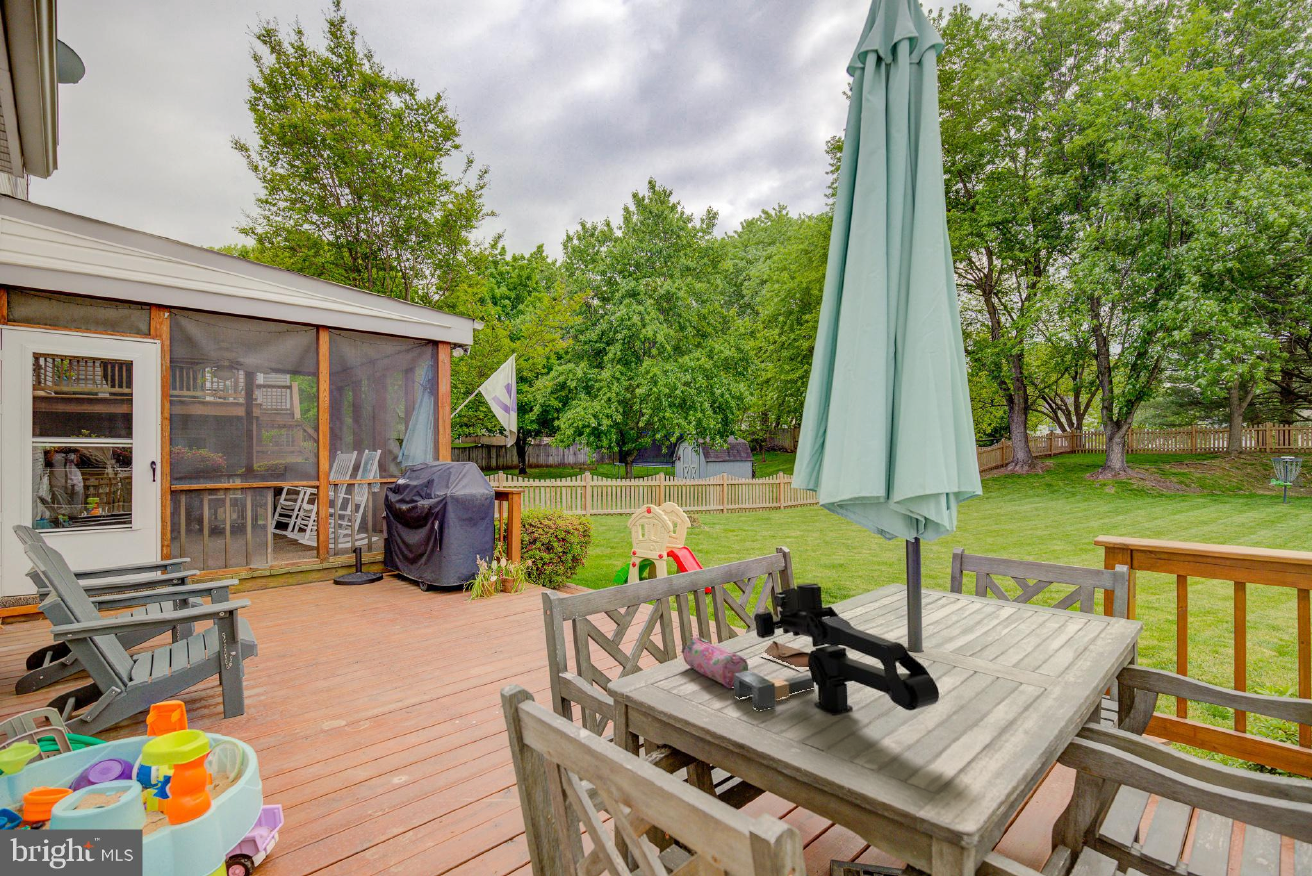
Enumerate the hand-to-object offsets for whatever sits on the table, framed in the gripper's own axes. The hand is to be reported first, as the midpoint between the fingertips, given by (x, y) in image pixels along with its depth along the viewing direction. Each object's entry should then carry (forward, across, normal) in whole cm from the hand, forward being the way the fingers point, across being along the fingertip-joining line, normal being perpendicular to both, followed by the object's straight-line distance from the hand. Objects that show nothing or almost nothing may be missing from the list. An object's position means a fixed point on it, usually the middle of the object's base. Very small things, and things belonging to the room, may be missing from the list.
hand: (767, 615), depth 158 cm
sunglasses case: (+7, -10, +17) cm, 20 cm away
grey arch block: (-12, +16, +17) cm, 26 cm away
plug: (-12, +4, +17) cm, 21 cm away
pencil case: (+7, +16, +15) cm, 23 cm away
